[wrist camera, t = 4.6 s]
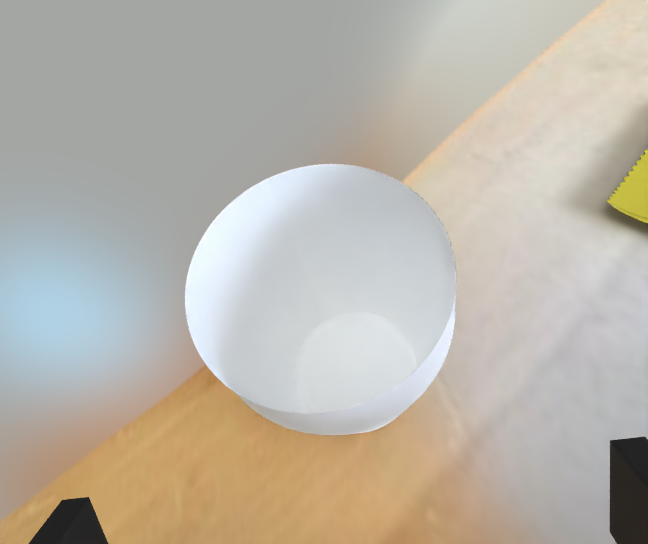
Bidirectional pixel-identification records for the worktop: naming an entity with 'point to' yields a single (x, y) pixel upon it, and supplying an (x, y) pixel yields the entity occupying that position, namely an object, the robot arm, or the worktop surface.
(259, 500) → the worktop surface
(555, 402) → the worktop surface
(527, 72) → the worktop surface
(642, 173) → the food package
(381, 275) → the cup
